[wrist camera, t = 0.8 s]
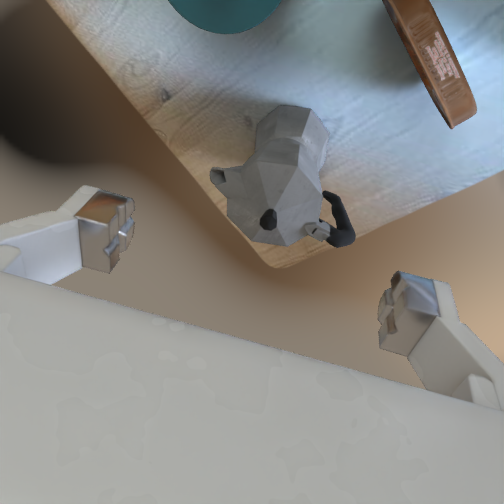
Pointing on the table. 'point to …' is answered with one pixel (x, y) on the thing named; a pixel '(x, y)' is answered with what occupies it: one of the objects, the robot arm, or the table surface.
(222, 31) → the can lid
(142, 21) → the table surface
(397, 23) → the tin
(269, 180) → the coffeepot
